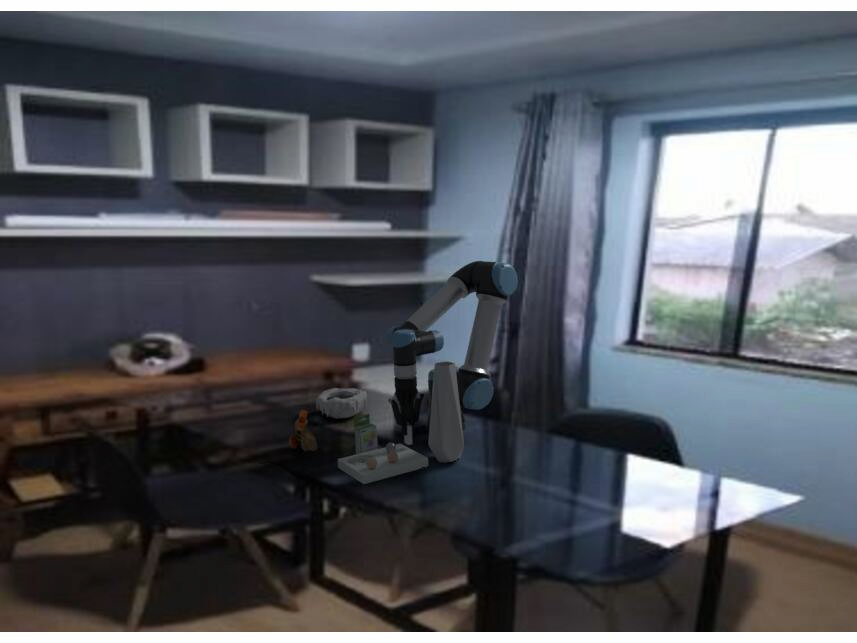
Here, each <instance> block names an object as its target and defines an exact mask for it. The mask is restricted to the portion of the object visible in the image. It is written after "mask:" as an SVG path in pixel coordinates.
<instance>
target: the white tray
mask: <svg viewBox="0 0 857 643" xmlns="http://www.w3.org/2000/svg"><path fill="white" fill-rule="evenodd" d="M395 445H396V450H395V452H396V453H397V455H398V459H397V461H396V462H390V461H388V459H387V455H388V453H389V452H387V451H386V446H385V447H382V448H381V447H380V448H378V449H376V450H372V451H368V452H364V453H360V454H356V453H355V454H353V455H352V454H351V455H350V456H345V457H342V458H337V468H338V469H340V471H342V472H344V473H345V474H347V475H349V476H350V477H352V478H353V479H355V480H356V481H358V482H360V483H361V484H362V485H366V484H370V483H373V482H377V481H380V480H384V479H388V478H392V477H395V476H399V475H403V474H405V473H410V472H414V471H417V470H420V468H421V469H423V468H422V467H425V468H427V466H428V467H429V457H428V456H425V455H423V454H422V453H420V452H417V451H415V449H414V450H413V449H411V448H410V447H408V446H406V445H404V444H402V443H398V444H397V443H395ZM371 457H372V458H375V459H376V460H377V465H376V467H375V468H373V469H370V468H368V467H367V465H366V461H367V459H368V458H371Z"/></svg>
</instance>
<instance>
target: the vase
mask: <svg viewBox="0 0 857 643" xmlns="http://www.w3.org/2000/svg"><path fill="white" fill-rule="evenodd" d="M456 367H457V366H456V363H455V362H453V361H452V362H451V361H448V360H447V361H438V362H434V367H433V369H434V378H433V390H432V402H431V415H430V427H429V431H428V447H429V448H430V450H431V452H432V454H433V455H434V457H435V459H436V460H437V462H438V461H439V463H447V462H451V461H455V460H456V461H458V460H459V459H460V458H461V457H462V454H463V451H464V448H465V442H464V440H465V439H464V432H463V431H464V429H463V430H462V421H461V412H460V408H461V406H460V403H459V394H458V385H457V376H456ZM458 458H459V459H458ZM457 459H458V460H457ZM444 461H445V462H444ZM456 461H455V462H456Z"/></svg>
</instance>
